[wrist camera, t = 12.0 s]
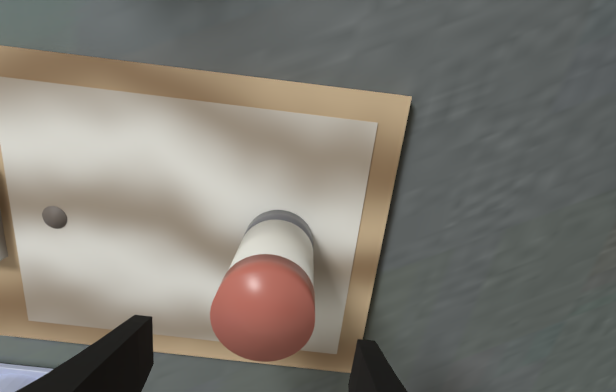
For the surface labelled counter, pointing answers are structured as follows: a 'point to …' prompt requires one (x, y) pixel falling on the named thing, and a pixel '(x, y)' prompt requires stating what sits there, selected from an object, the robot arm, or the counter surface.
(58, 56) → the clipboard
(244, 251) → the marker
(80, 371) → the robot arm
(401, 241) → the counter surface
